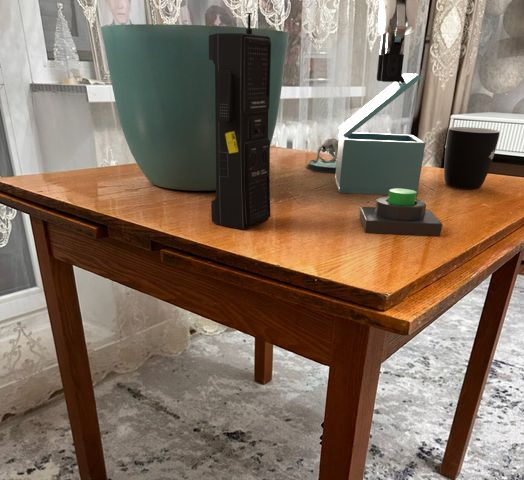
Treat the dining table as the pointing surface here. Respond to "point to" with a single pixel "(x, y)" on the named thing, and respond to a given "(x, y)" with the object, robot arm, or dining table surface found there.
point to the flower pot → (176, 97)
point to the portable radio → (241, 128)
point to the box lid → (378, 103)
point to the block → (399, 219)
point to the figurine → (325, 165)
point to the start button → (402, 196)
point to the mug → (468, 156)
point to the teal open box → (378, 163)
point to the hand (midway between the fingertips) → (388, 80)
